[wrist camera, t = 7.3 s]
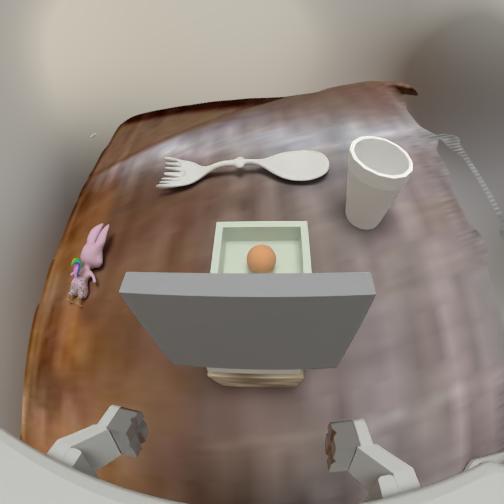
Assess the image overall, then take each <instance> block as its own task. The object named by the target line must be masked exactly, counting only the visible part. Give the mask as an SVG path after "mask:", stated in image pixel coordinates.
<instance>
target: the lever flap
mask: <svg viewBox="0 0 504 504" xmlns="http://www.w3.org/2000/svg"><path fill="white" fill-rule="evenodd" d="M119 293H120V295H121V296H122V298H123V299H124V301H125V302H126V304H127V305H128V306H129V308H130V309H131V311H132V312H133V313H134V315H135V316H136V318H137V319H138V320H139V322H140V323H141V324H142V326H143V327H144V328H145V330H146V331H147V332H148V334H149V335H150V336H151V338H152V339H153V340H154V341H155V343H156V344H157V345H158V346H159V348H160V349H161V350H162V351H163V353H164V354H165V355H166V356H167V358H168V359H169V360H170V361H171V362H172V364H174V365H184V366H195V367H206V368H207V369H208V371H209V372H221V373H242V374H300V372H301V369H323V368H336V367H337V366H338V364H339V362H340V361H341V359H342V357H343V355H344V354H345V352H346V350H347V349H348V347H349V345H350V343H351V342H352V340H353V338H354V336H355V334H356V332H357V331H358V329H359V327H360V325H361V323H362V321H363V319H364V317H365V316H366V314H367V312H368V310H369V308H370V306H371V304H372V302H373V300H374V298H375V296H376V292H375V288H374V284H373V280H372V276H371V272H349V273H154V272H126V274H125V277H124V280H123V282H122V285H121V288H120V290H119Z"/></svg>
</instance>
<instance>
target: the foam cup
mask: <svg viewBox="0 0 504 504" xmlns="http://www.w3.org/2000/svg"><path fill="white" fill-rule="evenodd" d="M347 163H348V179H347V194H346V207H345V210H346V211H345V214H346V217H347V219H348V221H349V222H350V223H351V224H352V225H354V226H355V227H357V228H359V229H364V230H369V229H373V228H375V227H376V226H377V225H378V224H379V223H380V222H381V220H382V219H383V217H384V216H385V214H386V213H387V211H388V210H389V208H390V207H391V205H392V204H393V202H394V201H395V199H396V198H397V196H398V195H399V193H400V191H401V190H402V188H403V187H404V186H405V185H406V184H407V183H408V180H409V178H410V176H411V173H412V170H413V162H412V160H411V158H410V157H409V155H408V153H407V152H406V151H404V150H403V149H402V148H401V147H400V146H398V145H397V144H395V143H393V142H391V141H389V140H387V139H384V138H379V137H374V136H367V137H359V138H358V139H356V140H354V141H353V142H352V144H351V147H350V150H349V155H348V160H347Z"/></svg>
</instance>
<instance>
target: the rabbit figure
mask: <svg viewBox="0 0 504 504" xmlns="http://www.w3.org/2000/svg"><path fill="white" fill-rule="evenodd" d="M102 226H103V223H102V224H99V225H97V226H96V227H94V228H93V229H92V230H91V232H90V233H89V235H88V238H87V244H86V245H85V246H84V247H83V249H82V252H81V261H82V263H83V264H84V265H85V266H84V268H81V267H82V263H81V261H80V260H79V259H78V258H74V259H73V261H72V265H74V272H72V273H71V276H73V275H74V276H75V278H74V279H73V280H72V282H71V289H70V292H69V293H68V302H70V303H73V302H72V301H71V300H70V296H72V295H74V296H78V303H77V305H78V306H80V307H83V306H82V305H81V304H80V303H79V300H80V299H84V298H86V297H87V296H88V293H89V291H88V280H89V279H90V277H92V279H93V283H96V279H95V276H94V274H93V273H92V272H91V270H90V269H91V268H92V269H93V268H98V267H100V266H101V265H102V263H103V252H102V250H103V247H104V244H105V241H106V236H107V232H108V229H109V224H108V225H107V226H106V227H105V228H104V229H103V230H102V231H101V229H102ZM100 231H101V232H100ZM99 233H100V234H99ZM79 273H80V276H78V274H79ZM66 301H67V300H66Z"/></svg>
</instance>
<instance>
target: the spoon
mask: <svg viewBox="0 0 504 504" xmlns="http://www.w3.org/2000/svg"><path fill="white" fill-rule="evenodd" d="M164 160H165V161H169V163H165V165H168V166H172V167H165V168H164V169H166V170H170V171H174V172H166V173H164V175H166V176H169V177H173V178H161V179H162V180H164V181H161V182H159V183H160V185H156V187H157V188H159V189H166V188H172V187H179V186H186V185H190V184H192V183H195V182H196V181H198V180H200V179H201V178H202V177H204V176H205V175H207V174H209V173H210V172H212V171H214V170H216V169H219V168H222V167H232V166H233V167H237V168H243V167H244V166H245V165H256V166H260V167H262V168H264V169H266V170H268V171H269V172H271V173H273V174H275V175H277V176H279V177H281V178H284V179H288V180H293V181H307V180H312V179H316V178H318V177H321V176H323V175H324V174H325V173H326V172H327V171H328V170H329V161H328V159H327V157H326V156H325V155H324V154H322V153H320V152H316V151H311V150H297V151H289V152H283V153H279V154H276V155H274V156H271V157H268V158H264V159H244V158H243V157H238V158H237V159H234V160H227V161H221V162H217V163H214V164H212V165H209V166H200V165H198V164H196V163H194V162H191V161H185V160H180V159H176V158H172V157H165V158H164Z"/></svg>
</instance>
